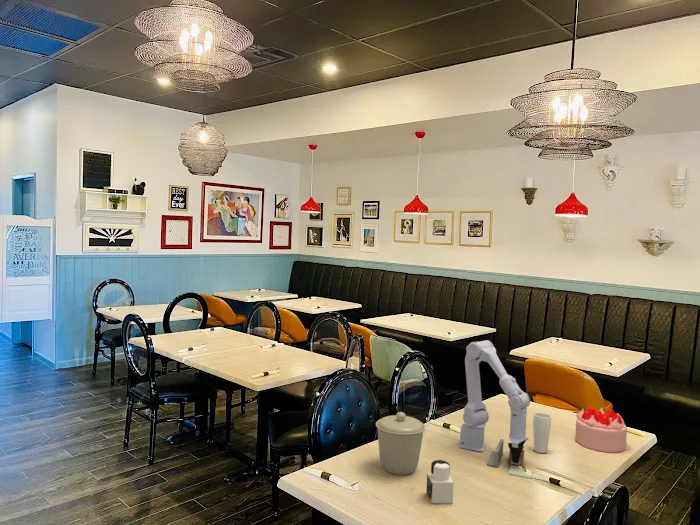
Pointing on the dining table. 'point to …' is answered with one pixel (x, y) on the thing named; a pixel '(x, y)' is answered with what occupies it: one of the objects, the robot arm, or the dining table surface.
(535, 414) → the beige paper cup
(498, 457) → the grey block
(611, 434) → the cake
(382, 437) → the canister
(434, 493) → the medicine bottle
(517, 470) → the pad
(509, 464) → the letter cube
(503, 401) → the dining table surface
